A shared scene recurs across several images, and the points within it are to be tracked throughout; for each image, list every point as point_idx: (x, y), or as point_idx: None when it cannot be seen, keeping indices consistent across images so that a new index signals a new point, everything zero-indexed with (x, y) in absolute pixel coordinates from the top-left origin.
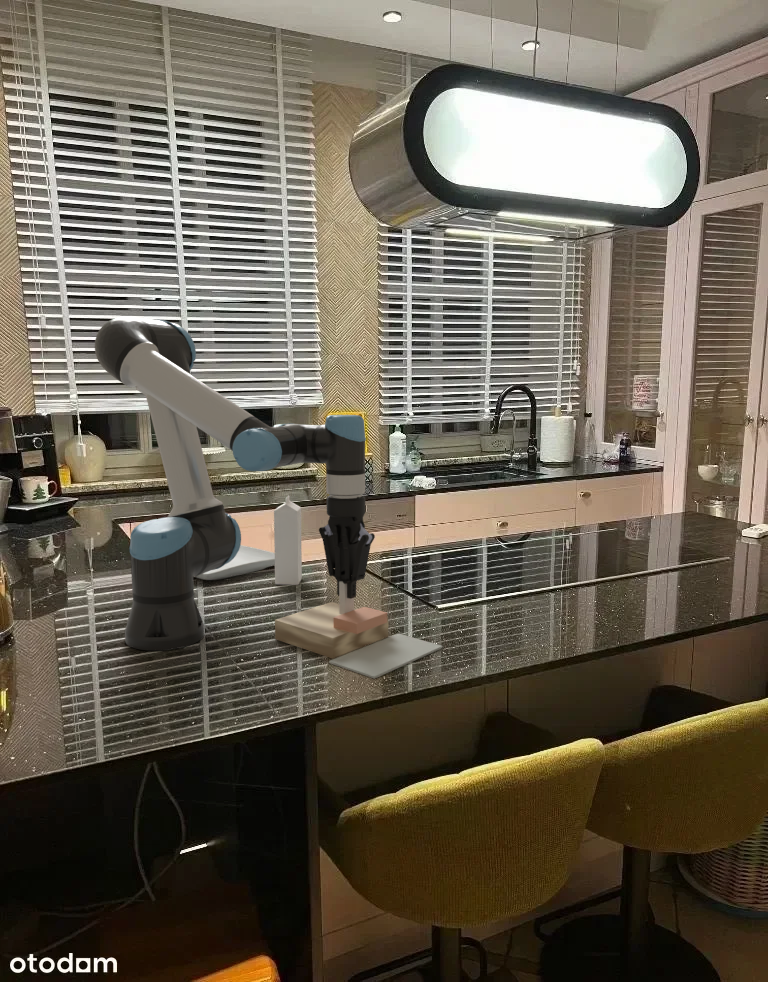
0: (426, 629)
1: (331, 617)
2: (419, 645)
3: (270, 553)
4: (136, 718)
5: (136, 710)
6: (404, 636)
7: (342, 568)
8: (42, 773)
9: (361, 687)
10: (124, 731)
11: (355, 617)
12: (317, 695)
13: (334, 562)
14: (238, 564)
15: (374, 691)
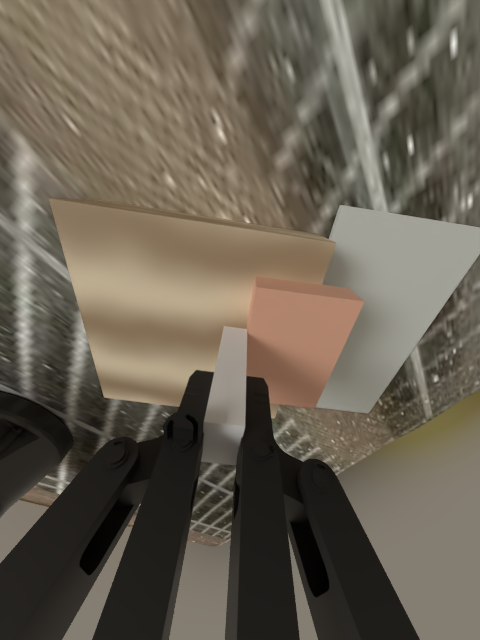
0: (423, 69)
1: (184, 331)
2: (424, 261)
3: None
4: (205, 513)
5: (193, 508)
6: (367, 220)
7: (185, 538)
8: (222, 543)
9: (357, 431)
10: (216, 521)
11: (288, 378)
12: (315, 458)
13: (85, 574)
14: None
15: (379, 433)
